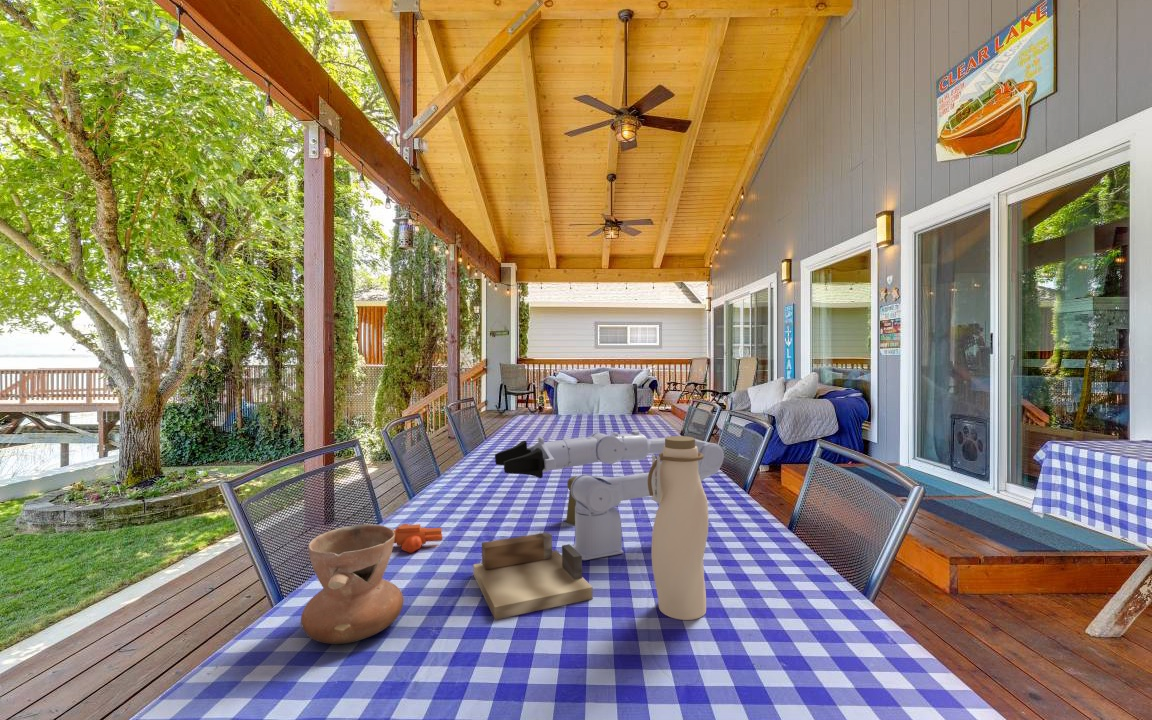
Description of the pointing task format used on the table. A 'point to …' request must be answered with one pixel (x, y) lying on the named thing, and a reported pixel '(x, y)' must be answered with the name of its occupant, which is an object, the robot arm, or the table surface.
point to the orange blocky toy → (415, 536)
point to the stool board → (534, 584)
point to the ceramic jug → (351, 585)
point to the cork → (571, 504)
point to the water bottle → (679, 529)
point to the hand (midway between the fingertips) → (499, 463)
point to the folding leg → (516, 550)
